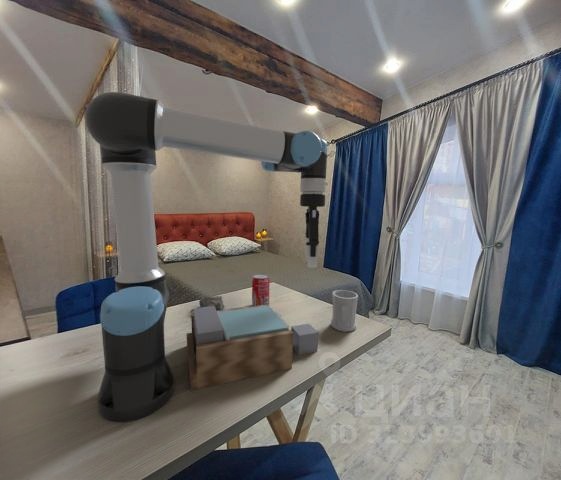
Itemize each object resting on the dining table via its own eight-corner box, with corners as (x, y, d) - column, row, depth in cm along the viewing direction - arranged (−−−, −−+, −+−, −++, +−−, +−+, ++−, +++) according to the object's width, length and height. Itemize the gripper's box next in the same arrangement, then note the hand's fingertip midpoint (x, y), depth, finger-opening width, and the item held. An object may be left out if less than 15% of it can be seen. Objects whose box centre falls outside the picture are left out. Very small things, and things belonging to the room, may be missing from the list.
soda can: (272, 305, 115) (273, 275, 113) (262, 311, 109) (262, 279, 107) (258, 301, 119) (259, 272, 117) (248, 307, 112) (248, 276, 111)
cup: (364, 332, 93) (367, 298, 91) (342, 336, 90) (344, 301, 88) (346, 319, 103) (348, 288, 101) (325, 323, 99) (327, 291, 98)
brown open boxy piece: (190, 390, 63) (189, 350, 62) (186, 345, 82) (185, 314, 80) (291, 368, 72) (292, 332, 71) (267, 332, 91) (267, 304, 90)
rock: (197, 306, 111) (197, 291, 111) (217, 302, 117) (217, 288, 116) (210, 318, 101) (210, 302, 100) (231, 314, 106) (231, 297, 105)
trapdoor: (198, 354, 64) (197, 334, 64) (193, 323, 80) (193, 307, 79) (288, 338, 72) (288, 321, 72) (268, 313, 88) (268, 298, 87)
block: (298, 355, 79) (299, 335, 78) (290, 344, 84) (291, 326, 83) (317, 351, 81) (318, 332, 80) (308, 341, 86) (308, 323, 85)
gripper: (331, 192, 70) (327, 272, 73) (320, 194, 95) (318, 254, 98) (302, 192, 70) (299, 272, 73) (299, 194, 95) (297, 253, 98)
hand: (310, 262), depth 86 cm, fingers open, 13 cm apart
